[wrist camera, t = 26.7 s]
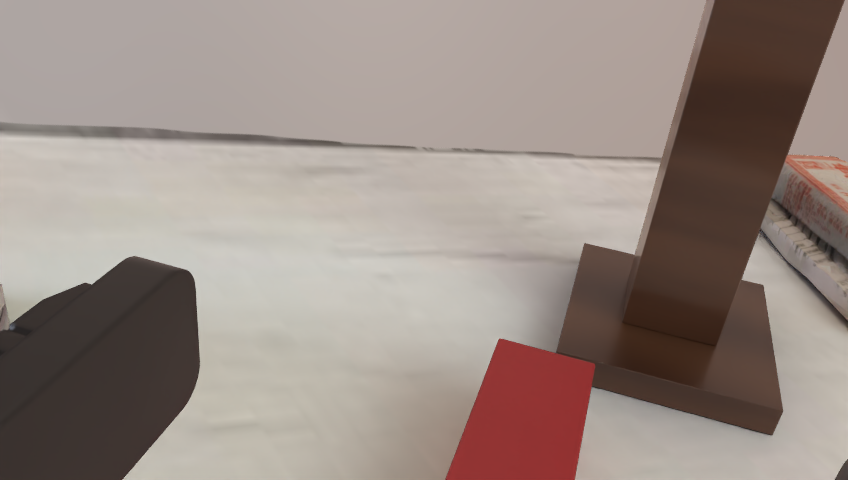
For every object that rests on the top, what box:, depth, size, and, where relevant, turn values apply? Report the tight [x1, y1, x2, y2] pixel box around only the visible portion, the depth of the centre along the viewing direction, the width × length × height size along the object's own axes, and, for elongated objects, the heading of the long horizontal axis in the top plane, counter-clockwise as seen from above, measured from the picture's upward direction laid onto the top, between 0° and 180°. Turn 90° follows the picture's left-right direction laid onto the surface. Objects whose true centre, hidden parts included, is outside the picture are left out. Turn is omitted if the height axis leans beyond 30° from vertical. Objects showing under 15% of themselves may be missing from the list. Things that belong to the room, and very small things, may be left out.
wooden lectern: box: [556, 0, 845, 435], centre depth 35 cm, size 13×11×34 cm
